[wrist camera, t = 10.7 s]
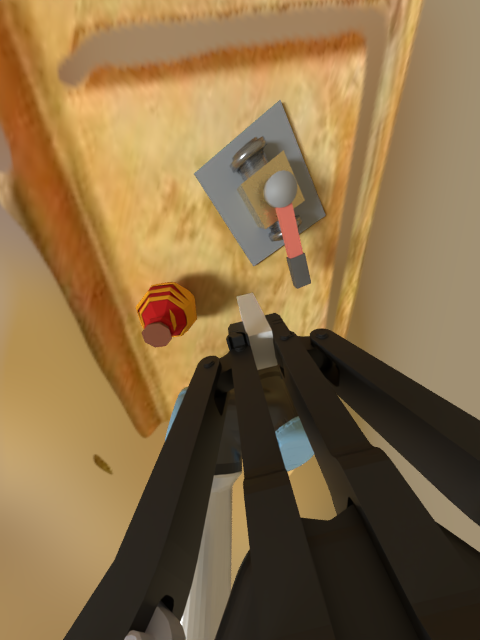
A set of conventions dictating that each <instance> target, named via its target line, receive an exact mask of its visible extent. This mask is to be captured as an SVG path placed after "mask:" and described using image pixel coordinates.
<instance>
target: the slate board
mask: <svg viewBox="0 0 480 640" xmlns="http://www.w3.org/2000/svg"><path fill="white" fill-rule="evenodd" d="M262 136H264V138H265V140H266V143H267V145H266V146H265V148H264V149H263V151H264V153H265V155H266V157H267V159H268V161H271V160H272V159H273V158H274V157H276V156H277V155H278V154H279V153H281V152H282V151H283V150H284V152H285V155H286V157H287V159H288V162H289V164H290V166H291V169H292V171H293V173H294V176H295V178H296V180H297V183H298V185H299V187H300V190H301V192H302V194H303V197H304V199H305V201H303V202H302V203H301V204H299V205H298V206H297V207H295V208H294V209H293V210H294V214H295V216H296V215H300V217H301V219H302V223H301V225H300V226H299V228H298V233H299V234H300V233H302V232H303V231H304V230H306V229H307V228H309V227H310V226H311V225H313V224H314V223H316V222H317V221H319V220H320V219H321V218H323V217H324V216H326V215H325V212H324V210H323V207H322V205H321V202H320V200H319V197H318V195H317V192H316V189H315V187H314V184H313V182H312V179H311V177H310V174H309V172H308V169H307V167H306V164H305V162H304V159H303V156H302V154H301V151H300V149H299V146H298V144H297V141H296V139H295V136H294V134H293V131H292V129H291V126H290V124H289V121H288V118H287V116H286V113H285V111H284V108H283V106H282V103H281V101H280V100H279V101H278V102H277V103H276V104H274V105H273V106H272V107H271V108H270V109H269V110H267V111H266V112H265V113H264V114H263V115H262V116H260V117H259V118H258V119H257V120H256V121H255V122H253V123H252V124H251V125H250V126H249V127H248V128H247V129H245V130H244V131H243V132H242V133H241V134H240V135H238V136H237V137H236V138H235V139H234V140H233V141H231V142H230V143H229V144H228V145H227V146H226V147H224V148H223V149H222V150H221V151H220V152H219V153H217V154H216V155H215V156H214V157H213V158H212V159H210V160H209V161H208V162H207V163H206V164H205V165H203V166H202V167H201V168H200V169H199V170H198V171H196V172H195V173H194V175H195V176H196V178H197V179H198V181H199V182H200V184H201V186H202V187H203V189H204V190H205V192H206V193H207V195H208V196H209V198H210V200H211V201H212V203H213V204H214V206H215V207H216V209H217V210H218V212H219V214H220V215H221V217H222V218H223V220H224V221H225V223H226V224H227V226H228V228H229V229H230V231H231V232H232V234H233V235H234V237H235V238H236V240H237V242H238V243H239V245H240V246H241V248H242V249H243V251H244V252H245V254H246V256H247V257H248V259H249V260H250V262H251V263H252V265H253V266H255V265H256V264H258V263H259V262H260V261H262V260H263V259H265V258H266V257H268V256H269V255H270V254H272V253H273V252H275V251H276V250H277V249H279V248H280V247H282V246H283V245H285V244H284V240H281V241H271V240H270V238H269V236H268V235H269V233H270V232H271V230H270V228H269V227H268V228H267V229H263V228H259V227H258V226H257V224H256V222H255V221H254V219H253V217H252V215H251V214H250V212H249V210H248V208H247V207H246V205H245V203H244V201H243V200H242V198H241V196H240V194H239V193H238V191H237V188H238V187H239V186H240V185H241V184H242V183H243V182H244V180H243V178H242V177H241V175H240V173H239V171H236V172H235V173H233V172H232V170H231V168H230V164H231V163H232V162H233V160H232V158H233V156H234V155H235V154H236V153H237V152H238V151H239V150H240V149H241V148H242V147H243V146H244V145H245V144H246V143H248V142H249V141H250V140H252V139H253V138H255V137H257V138H258V139H259V138H260V137H262Z"/></svg>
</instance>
